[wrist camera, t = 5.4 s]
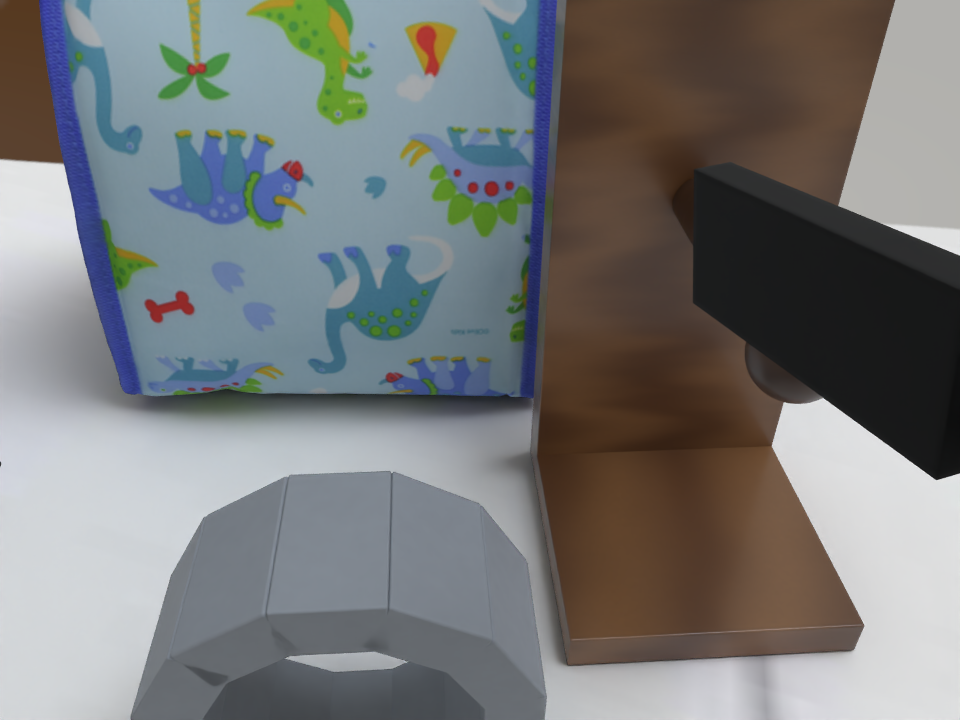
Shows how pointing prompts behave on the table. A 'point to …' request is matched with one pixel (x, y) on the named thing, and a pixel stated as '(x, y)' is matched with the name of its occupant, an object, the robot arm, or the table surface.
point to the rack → (680, 325)
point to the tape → (346, 609)
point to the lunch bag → (309, 189)
